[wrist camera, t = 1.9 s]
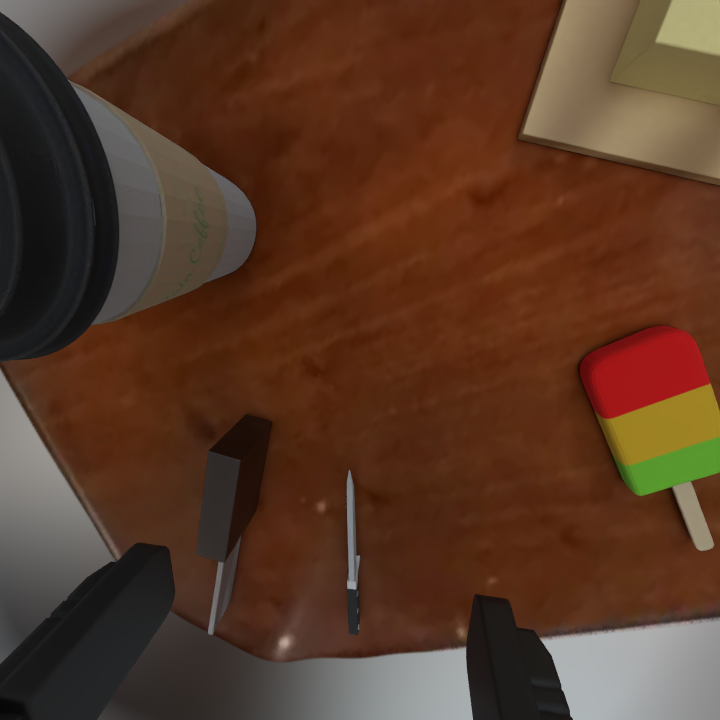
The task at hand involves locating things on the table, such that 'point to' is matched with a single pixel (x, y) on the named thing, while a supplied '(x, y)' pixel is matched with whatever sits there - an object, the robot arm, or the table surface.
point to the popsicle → (658, 416)
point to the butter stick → (673, 49)
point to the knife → (352, 562)
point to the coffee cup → (97, 209)
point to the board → (615, 101)
